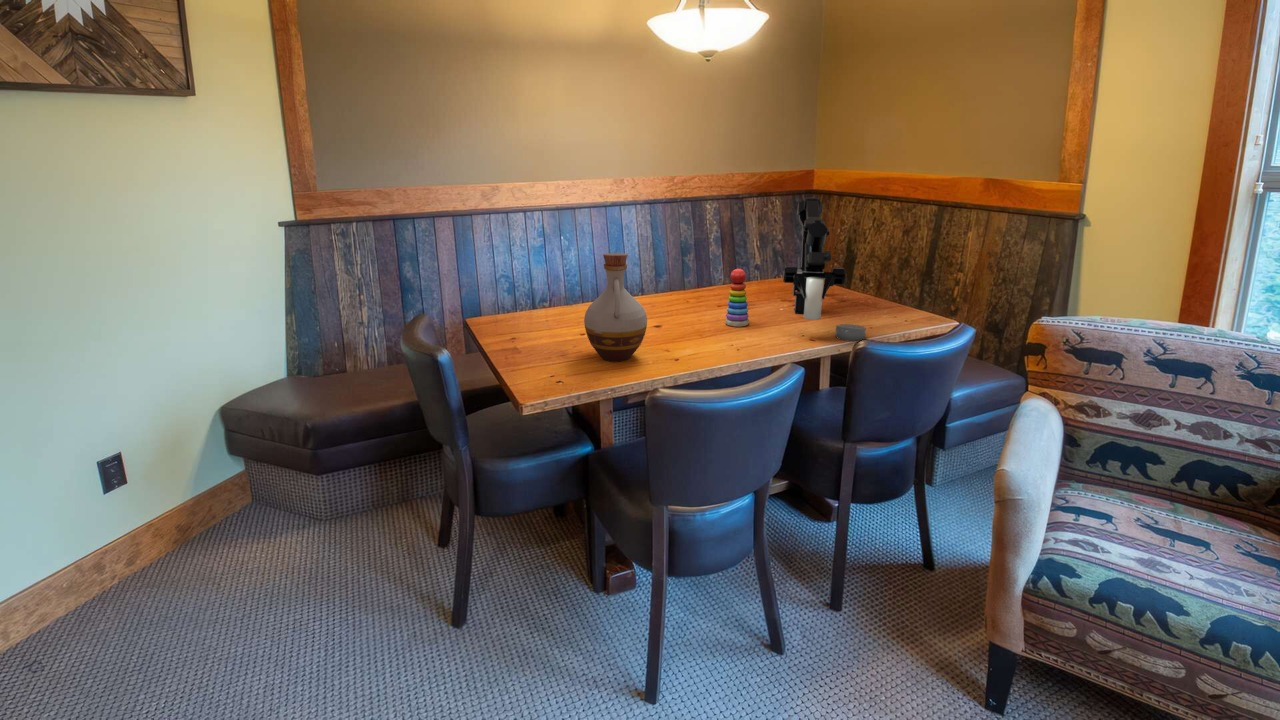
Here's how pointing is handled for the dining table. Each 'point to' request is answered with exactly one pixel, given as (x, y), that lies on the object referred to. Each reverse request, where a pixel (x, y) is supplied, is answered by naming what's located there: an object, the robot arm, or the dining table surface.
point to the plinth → (850, 332)
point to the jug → (615, 315)
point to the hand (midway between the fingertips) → (814, 298)
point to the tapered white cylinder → (813, 298)
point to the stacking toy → (737, 300)
